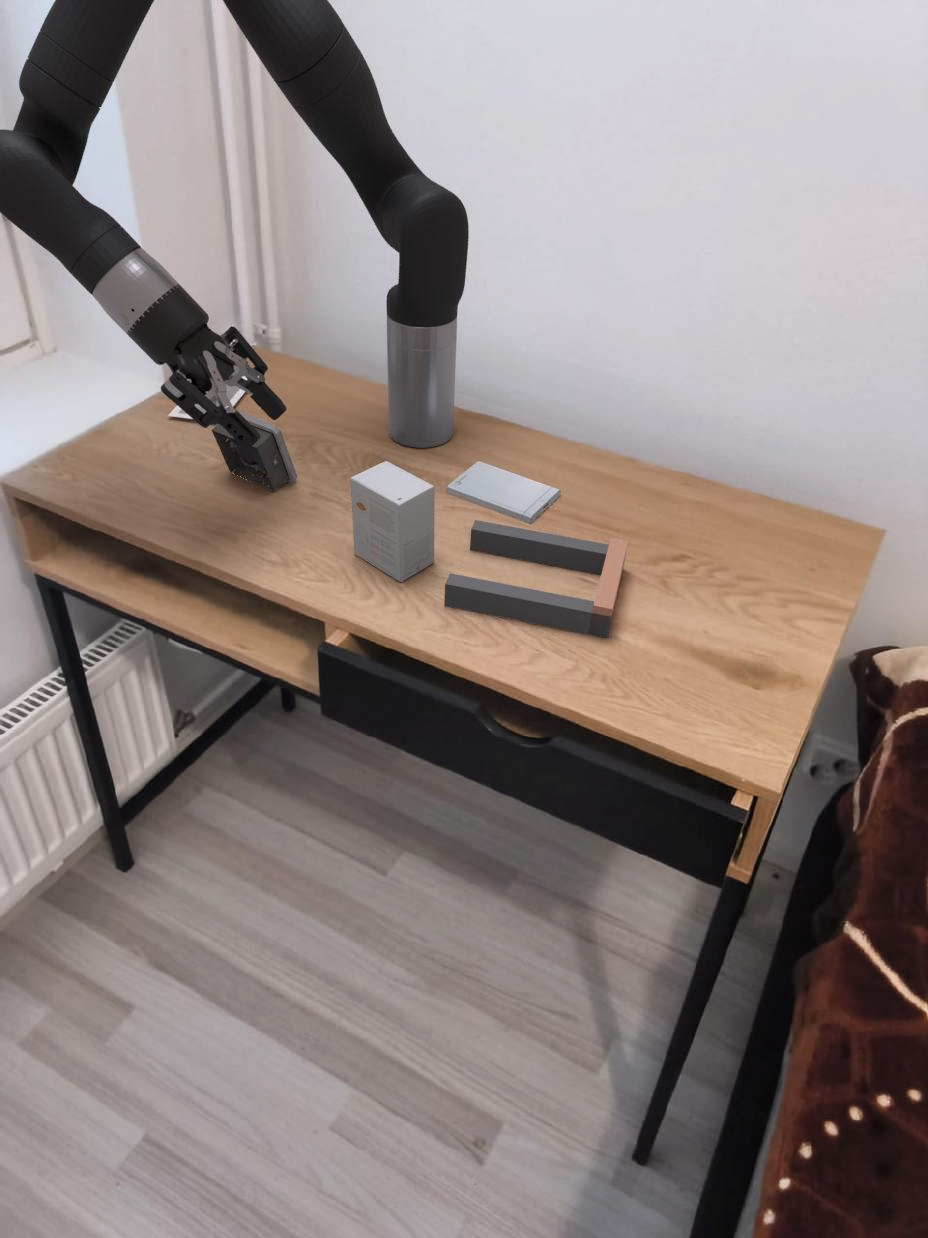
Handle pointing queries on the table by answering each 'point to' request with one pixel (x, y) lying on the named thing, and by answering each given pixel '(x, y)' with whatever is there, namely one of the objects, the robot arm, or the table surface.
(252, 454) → the electrical switch
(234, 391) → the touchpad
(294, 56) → the robot arm
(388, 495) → the small box
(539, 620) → the dock
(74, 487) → the table surface
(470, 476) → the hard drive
